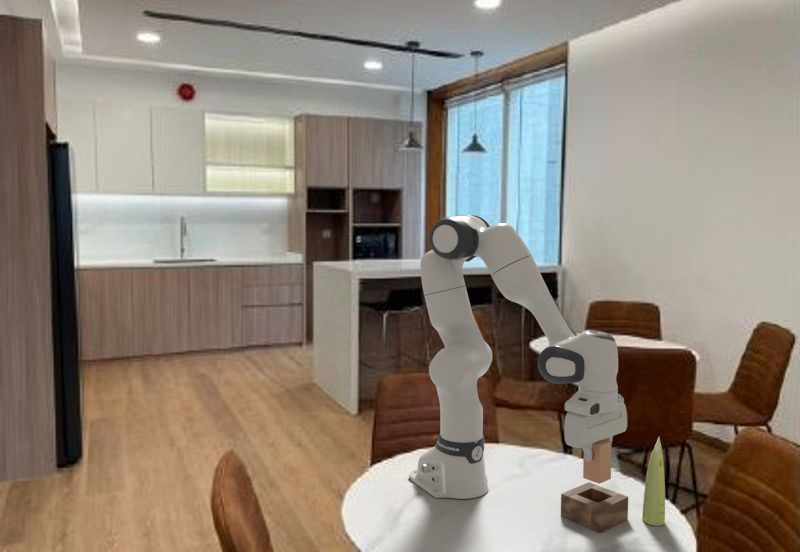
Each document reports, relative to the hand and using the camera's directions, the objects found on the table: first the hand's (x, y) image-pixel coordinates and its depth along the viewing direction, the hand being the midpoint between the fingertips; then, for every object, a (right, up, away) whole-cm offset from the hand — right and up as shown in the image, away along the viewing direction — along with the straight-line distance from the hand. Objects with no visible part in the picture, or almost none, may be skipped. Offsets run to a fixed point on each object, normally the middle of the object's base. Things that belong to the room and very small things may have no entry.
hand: (596, 457), depth 154 cm
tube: (+13, -15, -1) cm, 20 cm away
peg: (0, -5, 0) cm, 5 cm away
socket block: (0, -15, +1) cm, 15 cm away
